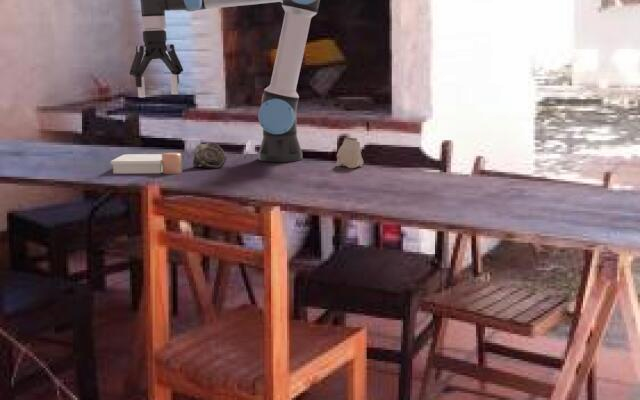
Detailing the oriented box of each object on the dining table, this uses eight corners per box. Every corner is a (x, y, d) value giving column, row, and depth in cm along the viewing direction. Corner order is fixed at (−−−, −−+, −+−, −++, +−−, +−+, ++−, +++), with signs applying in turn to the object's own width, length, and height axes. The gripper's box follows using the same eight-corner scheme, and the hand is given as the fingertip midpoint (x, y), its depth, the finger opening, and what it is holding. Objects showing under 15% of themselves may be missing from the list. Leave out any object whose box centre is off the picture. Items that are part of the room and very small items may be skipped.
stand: (171, 165, 307) (171, 154, 306) (161, 173, 291) (160, 160, 290) (124, 166, 308) (123, 154, 307) (111, 173, 292) (110, 161, 291)
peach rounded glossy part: (183, 171, 296) (182, 152, 295) (179, 174, 290) (178, 155, 289) (164, 171, 296) (164, 152, 295) (160, 174, 290) (159, 155, 289)
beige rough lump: (362, 173, 300) (370, 143, 301) (354, 167, 294) (362, 137, 295) (338, 168, 304) (345, 139, 305) (329, 162, 297) (337, 133, 298)
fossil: (210, 168, 296) (198, 140, 296) (193, 180, 301) (181, 152, 302) (233, 163, 304) (221, 136, 305) (215, 174, 310) (204, 147, 311)
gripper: (176, 29, 310) (180, 92, 314) (115, 31, 292) (120, 98, 295) (191, 28, 305) (195, 93, 309) (129, 30, 287) (134, 99, 290)
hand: (158, 95), depth 302 cm, fingers open, 13 cm apart
